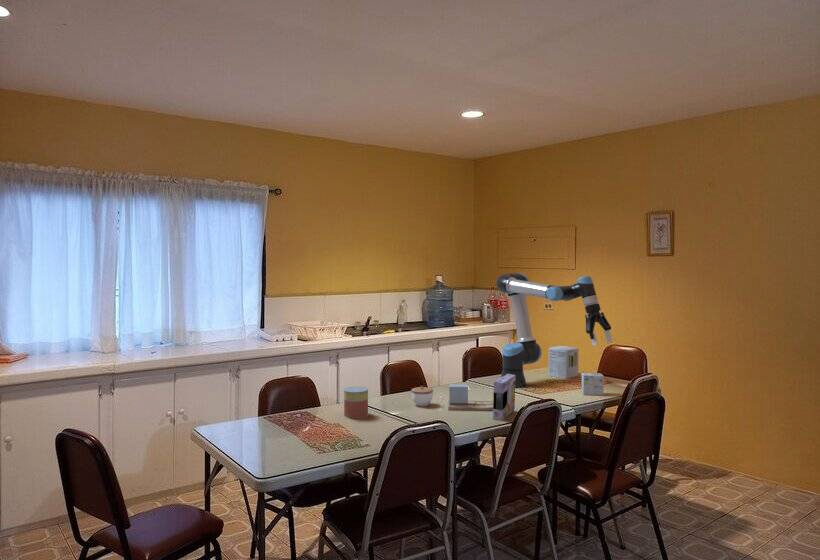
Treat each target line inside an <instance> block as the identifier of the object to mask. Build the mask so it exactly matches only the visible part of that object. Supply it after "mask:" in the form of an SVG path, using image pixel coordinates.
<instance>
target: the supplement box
mask: <svg viewBox="0 0 820 560" xmlns="http://www.w3.org/2000/svg"><path fill="white" fill-rule="evenodd" d="M548 376H549V377H554V378H559V377H560V379H565V378H566V379H571V377H572V378H575V376H576V377H579V348H578V347H574V346H573V347H572V346H565V345H558V346H557V345H556V346H553V347H549V348H548ZM566 379H565V380H566Z"/></svg>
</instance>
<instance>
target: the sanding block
mask: <svg viewBox="0 0 820 560" xmlns="http://www.w3.org/2000/svg"><path fill="white" fill-rule="evenodd" d="M448 385H449V386H448V387H449V388H448V389H449V398H448V399H449V405H468V401H469V399H468V398H469V385H468V384H457V383H456V384H453V383H452V384H451V383H449V384H448Z"/></svg>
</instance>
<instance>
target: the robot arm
mask: <svg viewBox="0 0 820 560" xmlns="http://www.w3.org/2000/svg"><path fill="white" fill-rule="evenodd" d="M495 283H496V284H495V286H496V289H497V290H498V291H499V292H500V293H503V294H507V298H509V299H510V301H511V306H512V310H513V311H512V312H513V317H514V318H513V319H514V324H515V328H516V334H517V340H516V341H515V342H512V343H511V342H510V343H507V344H504V345H503V346H502V351H501V353H502V371H501V375H500V378H501V377H503V376H505V375H506V374H511V375H515V388H524V387H526V386H527V380H526V377H525V373H524V366H525V365H531V364H535V363H537V362H538V361H540V359H541V358H542V355H543V354H542V353H543V351H542V348H541V346H540V345H539V344H538V343H537V340H536V338H535V337H534V336H533V332H532V327H531V320H530V315H529V310H528V309H529V308H528V303H527V296H531V297H538V298H543V299H548V300H549V301H553V302H558V301H564V302H568V301H572V300H575V299H577V298H580V297H581V299H582V303H583V306H584V310H585V313H586V314H585V315H584V316H585V317H584V318H585V333H586V334H587V335H589V337H590V341H591V344H592V346H594V347H595V346H598V345H599V342H598V339H597V336H596V332H594V330H595V326H596V323H597V324H599V325H600V327H602V329H603V330H604V331H603V332H604V336H605V340H606V343H607V344H609V343H613V339H612V336H611V335H612V334H611V332H610V330H611V331H612V326H611V324H610V322H609V321H608V319H607V318H606V316H605V314H604V312H603V311H602V312H600V311H601V309H602V308H601V306H600V303H599V300H598V296H597V293H596V289H595V288H596V287H595V285H594V282H593V278H592V276H590V275H585V276H581V277H579V278H577V282H576V283H574V284H571V285H561V286H560V285H551V284H546V283H541V282H540V283H539V282H533V281H530V279H529V277H528V276H527V275H525V274H524V273H519V272H512V273H503V274H500V275H499V276H498V277H497V279H496V282H495Z"/></svg>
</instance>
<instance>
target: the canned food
mask: <svg viewBox="0 0 820 560" xmlns="http://www.w3.org/2000/svg"><path fill="white" fill-rule="evenodd" d="M343 404H344V405H343V416H344V417H345V418H347V419H348V418H349V419H362V418H366V417H368V416H369V389H368V388H367V387H364V386H351V387H349V386H348V387H345V388H344V389H343Z"/></svg>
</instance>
